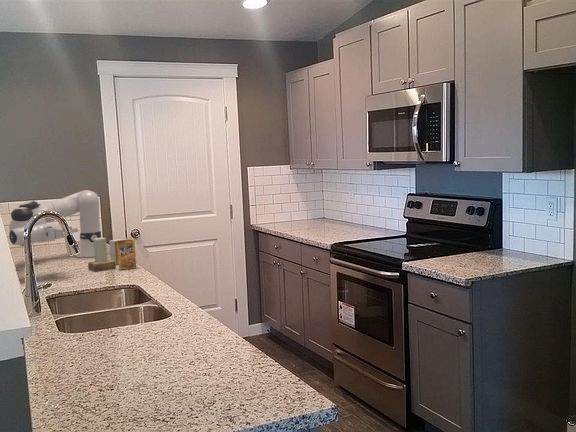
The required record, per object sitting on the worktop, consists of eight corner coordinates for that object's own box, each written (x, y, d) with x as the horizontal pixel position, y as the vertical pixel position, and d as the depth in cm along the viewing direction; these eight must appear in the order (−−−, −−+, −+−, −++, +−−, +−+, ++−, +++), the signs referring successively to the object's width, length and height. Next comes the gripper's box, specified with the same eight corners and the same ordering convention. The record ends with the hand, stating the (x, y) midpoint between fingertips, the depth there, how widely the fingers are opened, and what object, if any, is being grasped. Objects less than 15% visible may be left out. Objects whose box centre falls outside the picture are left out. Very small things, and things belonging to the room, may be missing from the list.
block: (95, 261, 309) (93, 238, 308) (104, 260, 312) (102, 237, 311) (98, 262, 305) (96, 239, 304) (107, 261, 308) (105, 238, 307)
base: (88, 269, 310) (87, 261, 309) (108, 266, 316) (108, 258, 316) (95, 271, 302) (94, 264, 302) (115, 268, 309) (115, 260, 308)
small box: (116, 265, 318) (114, 241, 317) (110, 263, 323) (108, 240, 321) (129, 262, 324) (128, 239, 322) (124, 261, 328) (122, 238, 327)
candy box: (119, 270, 304) (116, 240, 302) (118, 268, 308) (116, 239, 306) (136, 268, 307) (134, 239, 305) (136, 266, 311) (134, 238, 309)
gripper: (40, 237, 300) (68, 233, 308) (52, 241, 283) (81, 237, 292) (39, 224, 299) (67, 221, 307) (51, 228, 283) (80, 224, 291)
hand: (74, 229), depth 299 cm, fingers open, 8 cm apart
